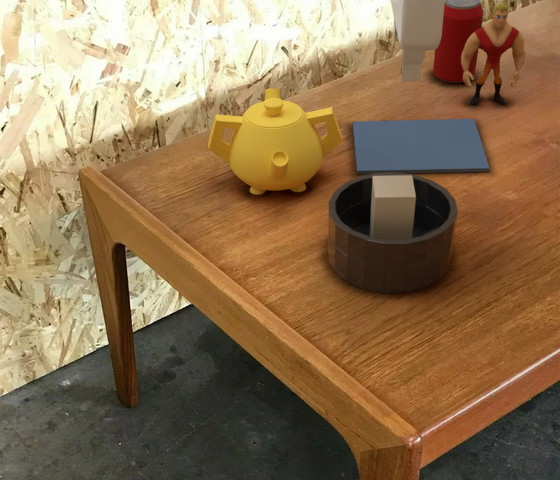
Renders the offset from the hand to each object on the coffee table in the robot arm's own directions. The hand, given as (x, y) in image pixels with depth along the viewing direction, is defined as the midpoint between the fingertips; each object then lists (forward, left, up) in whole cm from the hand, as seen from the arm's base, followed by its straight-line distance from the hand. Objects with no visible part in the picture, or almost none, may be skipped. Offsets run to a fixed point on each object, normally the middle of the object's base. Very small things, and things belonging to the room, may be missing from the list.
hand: (405, 57), depth 81 cm
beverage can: (-14, -46, -24) cm, 53 cm away
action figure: (-18, -37, -24) cm, 47 cm away
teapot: (+14, -16, -24) cm, 32 cm away
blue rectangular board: (-6, -23, -23) cm, 34 cm away
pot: (0, +2, -23) cm, 23 cm away
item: (0, +2, -23) cm, 23 cm away
